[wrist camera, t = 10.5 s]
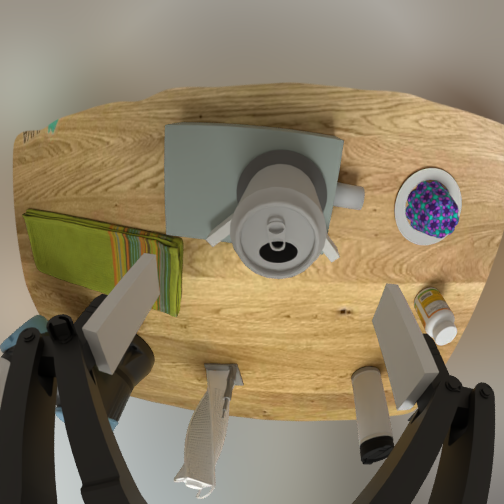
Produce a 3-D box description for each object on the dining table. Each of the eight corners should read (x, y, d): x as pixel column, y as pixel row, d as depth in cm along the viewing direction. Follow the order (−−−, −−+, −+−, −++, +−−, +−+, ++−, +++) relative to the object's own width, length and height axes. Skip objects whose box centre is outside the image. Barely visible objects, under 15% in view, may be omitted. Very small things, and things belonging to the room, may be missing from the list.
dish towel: (182, 312, 51) (177, 323, 48) (41, 269, 52) (33, 276, 49) (186, 236, 43) (178, 246, 41) (30, 205, 44) (19, 211, 42)
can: (250, 228, 33) (232, 288, 23) (243, 164, 30) (218, 196, 19) (316, 226, 32) (328, 286, 22) (314, 160, 29) (329, 191, 18)
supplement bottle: (431, 312, 44) (450, 349, 36) (408, 309, 44) (425, 348, 36) (443, 288, 42) (466, 323, 33) (420, 284, 42) (442, 321, 33)
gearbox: (181, 217, 41) (158, 243, 34) (182, 122, 35) (155, 126, 27) (345, 238, 40) (357, 268, 32) (364, 141, 33) (384, 150, 26)
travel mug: (344, 381, 55) (352, 464, 37) (362, 363, 51) (376, 450, 34) (367, 386, 55) (378, 465, 37) (385, 369, 52) (402, 451, 34)
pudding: (392, 246, 40) (403, 264, 35) (391, 168, 34) (405, 177, 30) (455, 239, 38) (471, 254, 33) (460, 166, 32) (479, 174, 28)
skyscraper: (244, 387, 59) (223, 503, 34) (210, 386, 60) (180, 495, 35) (237, 363, 55) (209, 492, 30) (199, 363, 56) (160, 483, 32)
